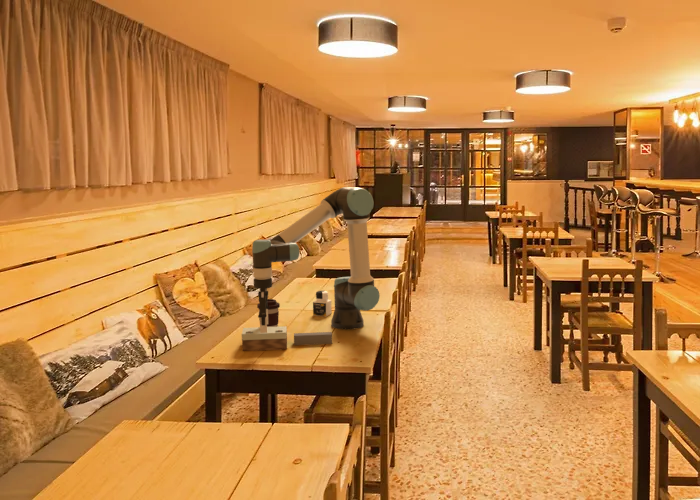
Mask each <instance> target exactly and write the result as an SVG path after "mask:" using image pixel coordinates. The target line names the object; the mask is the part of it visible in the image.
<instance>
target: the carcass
mask: <svg viewBox="0 0 700 500" xmlns="http://www.w3.org/2000/svg"><path fill="white" fill-rule="evenodd" d="M278 332H280V330H278ZM248 334H251V331H248ZM241 341H242V342H241V343H242V346H241V347H242V352H251V351H253V352H254V351H274V350H275V351H276V350H280V351H281V350H288V337H287V338H286V339H261V340H242V339H241Z"/></svg>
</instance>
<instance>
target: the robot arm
mask: <svg viewBox="0 0 700 500" xmlns="http://www.w3.org/2000/svg"><path fill="white" fill-rule="evenodd" d="M374 205H375V204H374V198H373V195H372V194H371V192H370V191H368V190H367V189H365V188H362V187H349V186H346V187H345V186H344V187H340V188H337V189H336V190H335V191H333V192H332V193H330V194H329V195H327V196H326V197H324V198H323V199H322V200H321V201H320V204H319V205H317V206H316V207H315V208H313V209H312V210H310V211H309V212H308V213H306V214H305V215H303V216H302V217H301V218H299V219H298V220H296V221H295V222H293V223H292V224H291V225H289V226H288V227H286V228H285V229H284V230H283V231H281V232H279V233H278V234H276V236H275V235H274V237H272V238H268V239H255V240H254V241H252V247H251V249H252V251H251V253H252V268H253V269H252V270H251V273H252V274H253V288H254V289H259V290H258V292H257V296H258V304H259V303H260V315H259V314H258V315H257V318H258V319H259V317H260V320H259V327H260V333H267V324H268V309H269V306H268V302H267V299H269V290H267V289H270V288H272V287H273V278H272V276H273V266H272V265H273V264H272V263H278V262H279V263H281V262H292V261H297V260H298V259H299V257H300V247H299V245H298V244H297V242H299V241H300V240H302V239H303V238H304V237H306V236H307V235H309V234H310V233H311V232H313V231H315V230H316V229H317V228H319V227H320V226H321V225H323V224H324V223H326V221H328V220H329V219H335V218H336V217H338V216H340V215H342V219H343V221H345V222H346V225H347V226H346V227H347V238H348V240H347V241H348V253H349V266H350V267H349V268H350V276H342V277H341V276H340V277H337V278H335V279H334V283H333V287H334V289H333V291H334V292H333V293H334V295H333V296H334V312H333V314H332V317H331V322H330V323H331V328H334V329H338V330H357V329H361V328H362V327H364V324H365V323H364V322H365V321H364V319H363V314H362V312H361V311H365V312H366V311H370V310H372V309H374V308H375V307H376V306H377V305H378V304H379V300H380V296H381V295H380V294H381V293H380V291H379V289H378V288H377V287H376V286H375V278H374V277H373V276H372V275H371V268H370V267H371V266H370V252H369V240H368V239H369V238H368V237H369V236H368V235H369V234H368V221H369V219H370V218H371V215H370V214H371V212H372V210H373V209H374Z"/></svg>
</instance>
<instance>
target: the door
mask: <svg viewBox="0 0 700 500" xmlns="http://www.w3.org/2000/svg"><path fill="white" fill-rule="evenodd" d="M287 329H288V327H287V326H278V327H267V333H260V326H259V327H257V326H256V327H243V328H242V332H241V341H242V340H261V339H286V338H287V339H288V330H287ZM278 330H280V332H278ZM248 331H251V334H248Z"/></svg>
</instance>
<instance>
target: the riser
mask: <svg viewBox="0 0 700 500" xmlns="http://www.w3.org/2000/svg"><path fill="white" fill-rule="evenodd" d="M331 344H333V332H332V331H322V332H319V331H318V332H295V333H293V346H305V345H306V346H307V345H331Z"/></svg>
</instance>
